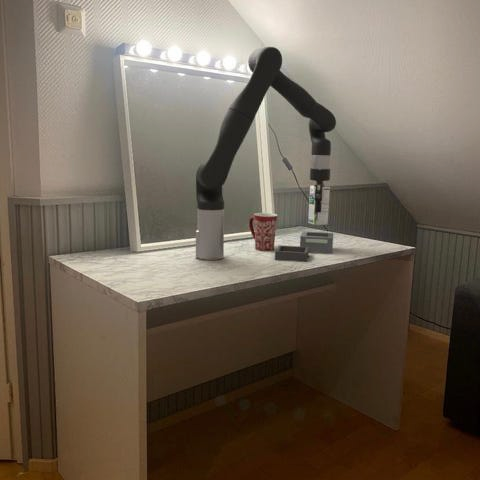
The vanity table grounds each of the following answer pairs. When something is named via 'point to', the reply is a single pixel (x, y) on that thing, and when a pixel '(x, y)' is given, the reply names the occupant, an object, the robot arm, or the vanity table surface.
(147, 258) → the vanity table surface
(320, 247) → the port
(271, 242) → the mug
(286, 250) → the dark grey tray
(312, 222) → the syrup box
